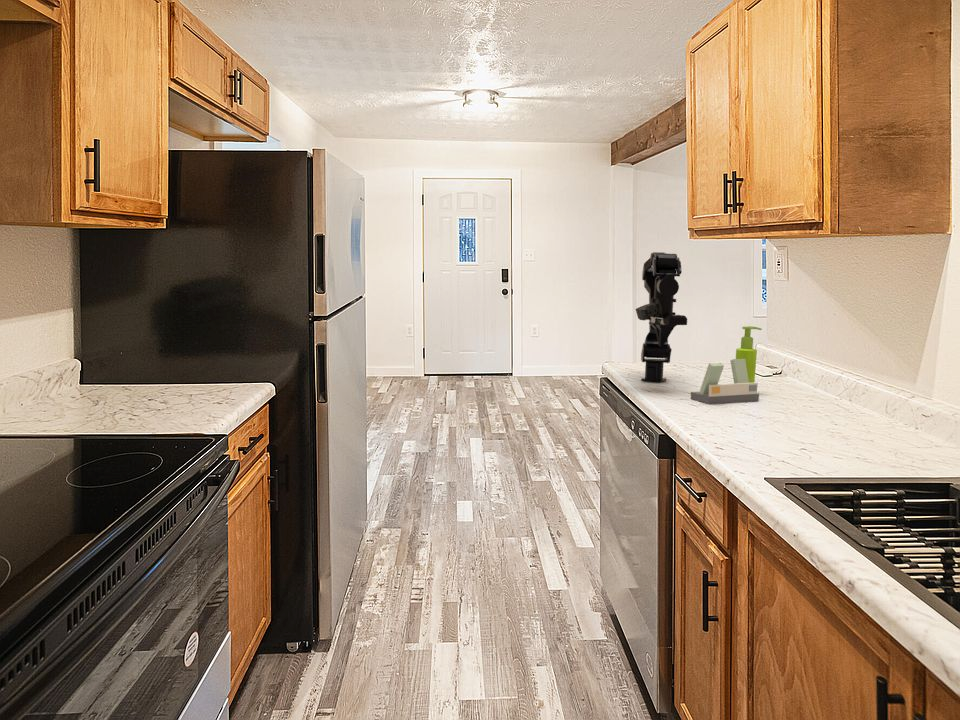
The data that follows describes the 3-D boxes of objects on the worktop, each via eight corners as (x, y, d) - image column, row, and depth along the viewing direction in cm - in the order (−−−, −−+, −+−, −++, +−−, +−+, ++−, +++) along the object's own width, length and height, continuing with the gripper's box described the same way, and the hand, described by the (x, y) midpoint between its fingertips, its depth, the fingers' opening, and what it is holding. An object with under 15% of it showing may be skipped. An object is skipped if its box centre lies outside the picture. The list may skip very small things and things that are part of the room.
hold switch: (735, 390, 235) (730, 360, 237) (746, 390, 237) (741, 359, 238) (739, 389, 234) (733, 359, 235) (750, 389, 235) (744, 358, 237)
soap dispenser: (759, 394, 244) (764, 327, 241) (736, 393, 244) (741, 327, 241) (753, 391, 249) (758, 326, 247) (731, 390, 250) (735, 325, 247)
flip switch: (699, 391, 230) (708, 363, 226) (711, 390, 231) (720, 362, 227) (702, 394, 229) (712, 366, 224) (714, 393, 230) (724, 365, 226)
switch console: (690, 398, 233) (691, 381, 233) (739, 395, 240) (740, 378, 239) (708, 404, 226) (709, 385, 225) (758, 400, 233) (759, 382, 232)
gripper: (625, 293, 253) (623, 343, 255) (656, 296, 236) (653, 350, 238) (657, 293, 257) (654, 342, 259) (689, 297, 239) (686, 349, 241)
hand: (661, 346), depth 249 cm, fingers closed
